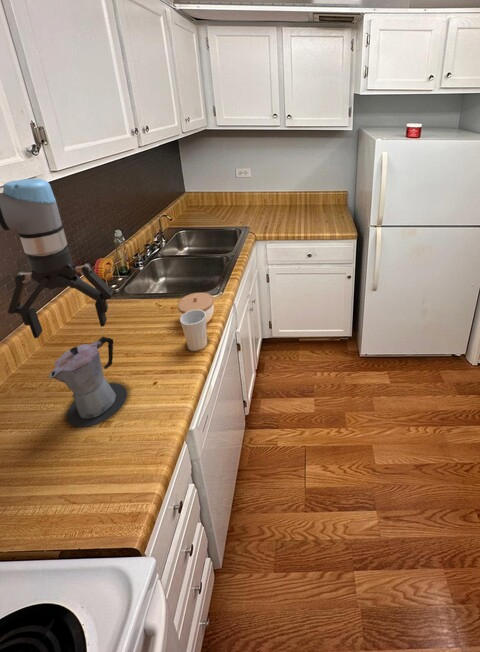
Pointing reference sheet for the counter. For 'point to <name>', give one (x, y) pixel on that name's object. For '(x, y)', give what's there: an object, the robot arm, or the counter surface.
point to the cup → (194, 329)
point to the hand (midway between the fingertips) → (72, 328)
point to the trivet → (78, 421)
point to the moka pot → (86, 377)
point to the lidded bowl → (197, 304)
